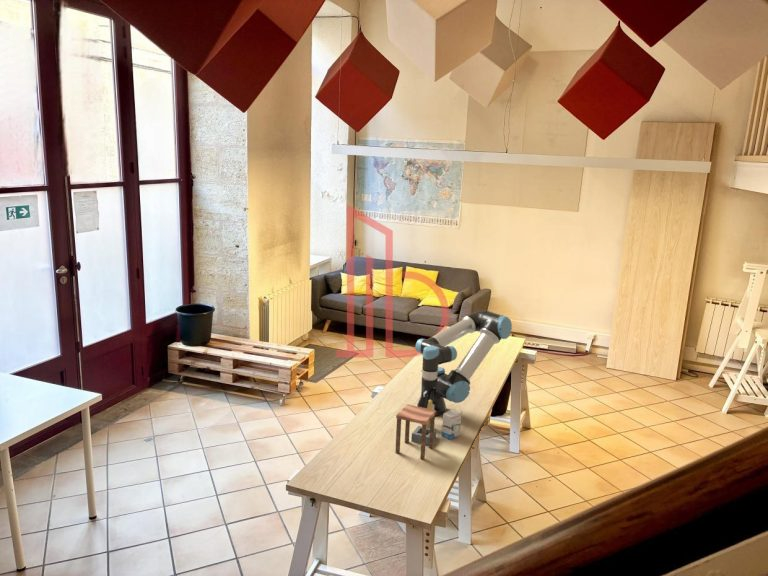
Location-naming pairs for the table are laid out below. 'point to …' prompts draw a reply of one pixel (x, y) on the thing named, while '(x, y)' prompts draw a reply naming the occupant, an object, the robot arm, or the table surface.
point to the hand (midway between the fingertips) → (427, 420)
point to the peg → (431, 409)
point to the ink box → (451, 424)
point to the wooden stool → (416, 416)
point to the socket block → (418, 435)
